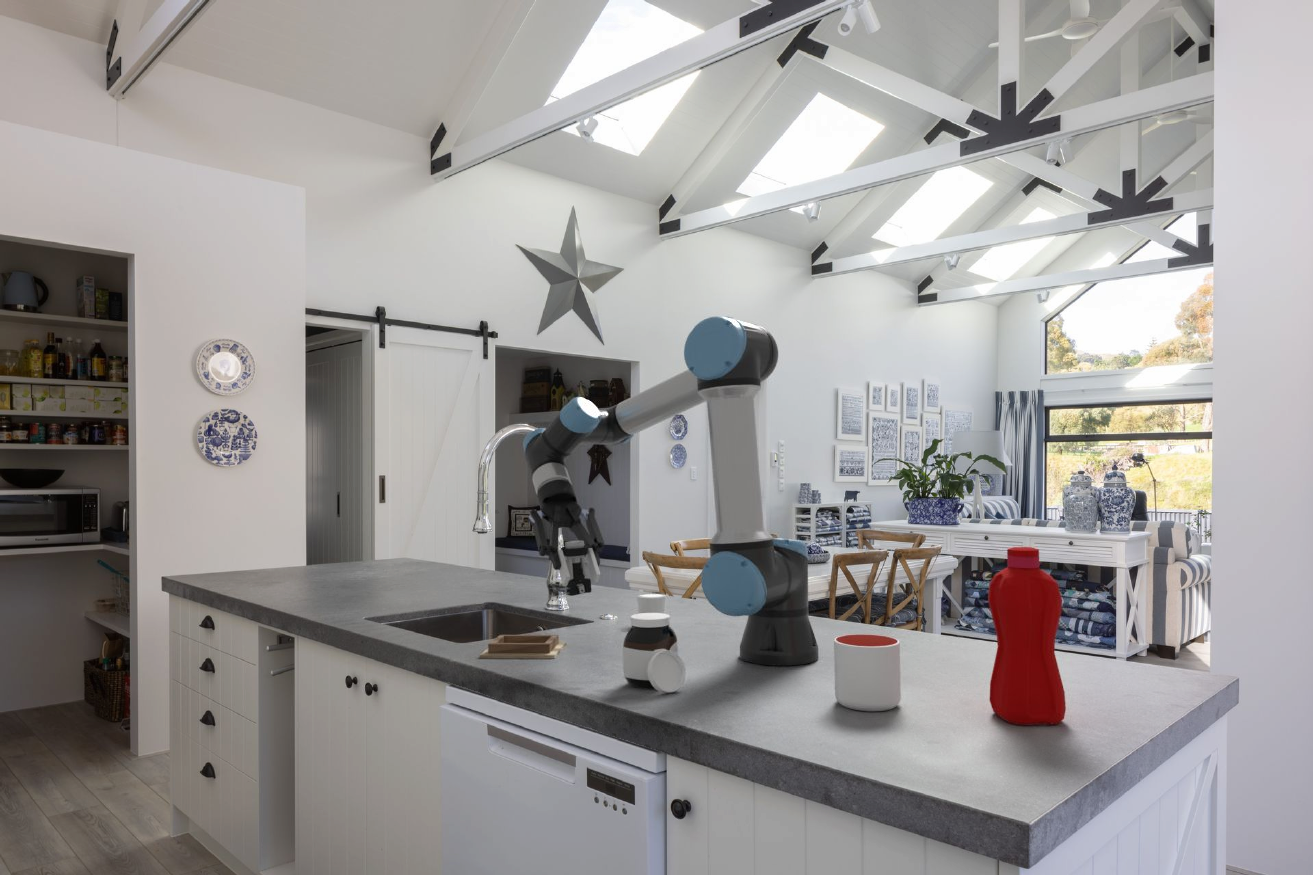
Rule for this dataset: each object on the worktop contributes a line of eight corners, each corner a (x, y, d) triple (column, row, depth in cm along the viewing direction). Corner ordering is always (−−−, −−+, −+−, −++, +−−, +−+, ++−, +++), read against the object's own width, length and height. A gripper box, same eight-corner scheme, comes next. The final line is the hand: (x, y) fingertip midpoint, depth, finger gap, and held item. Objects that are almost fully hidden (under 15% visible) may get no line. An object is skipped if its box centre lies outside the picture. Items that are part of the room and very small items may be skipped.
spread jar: (646, 674, 158) (645, 609, 158) (702, 681, 152) (701, 614, 153) (610, 690, 148) (609, 620, 148) (669, 698, 142) (668, 626, 142)
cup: (889, 717, 130) (888, 649, 130) (825, 707, 135) (824, 642, 135) (909, 701, 138) (907, 637, 139) (848, 693, 144) (846, 631, 144)
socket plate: (554, 658, 172) (554, 646, 172) (479, 658, 173) (479, 645, 173) (566, 644, 185) (566, 633, 185) (496, 644, 186) (496, 633, 186)
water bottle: (1038, 705, 135) (1034, 542, 136) (1074, 727, 124) (1069, 549, 125) (979, 706, 135) (975, 543, 135) (1009, 728, 124) (1004, 550, 124)
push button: (568, 598, 164) (565, 545, 164) (552, 595, 168) (549, 543, 168) (597, 592, 168) (593, 540, 168) (581, 590, 172) (577, 539, 172)
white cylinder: (666, 627, 202) (666, 597, 203) (636, 628, 202) (636, 597, 203) (666, 622, 209) (666, 592, 209) (637, 622, 209) (637, 593, 209)
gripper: (592, 501, 186) (622, 589, 171) (507, 504, 178) (530, 596, 163) (600, 476, 181) (632, 564, 166) (514, 478, 174) (538, 570, 158)
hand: (582, 580), depth 165 cm, fingers closed on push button, 5 cm apart
